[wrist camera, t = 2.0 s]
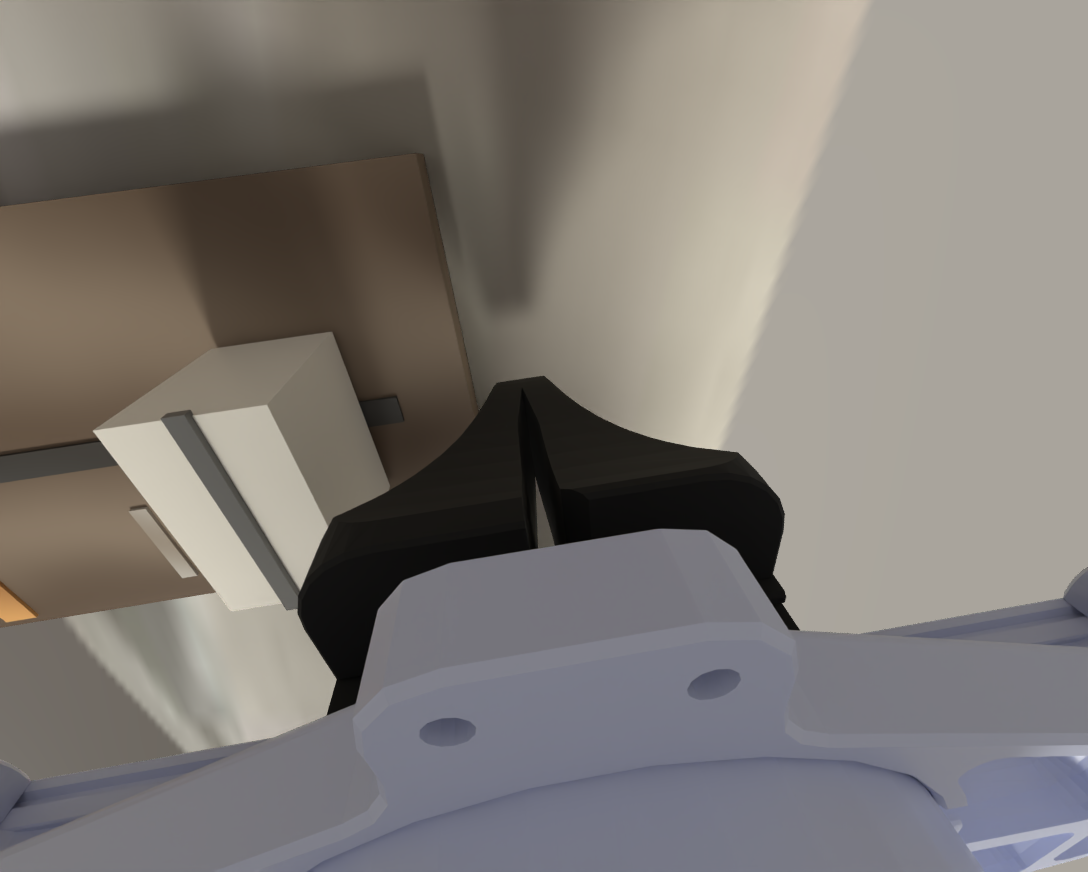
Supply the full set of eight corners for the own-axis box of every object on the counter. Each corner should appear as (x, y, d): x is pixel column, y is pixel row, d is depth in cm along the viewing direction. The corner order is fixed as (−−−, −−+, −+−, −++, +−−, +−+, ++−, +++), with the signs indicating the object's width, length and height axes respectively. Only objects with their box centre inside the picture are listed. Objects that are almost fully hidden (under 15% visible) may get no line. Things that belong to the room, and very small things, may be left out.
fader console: (501, 517, 17) (502, 547, 16) (-61, 607, 17) (-109, 647, 15) (423, 154, 11) (414, 152, 10) (-500, 272, 10) (-651, 290, 9)
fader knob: (391, 488, 14) (359, 598, 10) (294, 503, 14) (230, 620, 10) (330, 327, 11) (260, 403, 8) (209, 345, 11) (82, 430, 8)
